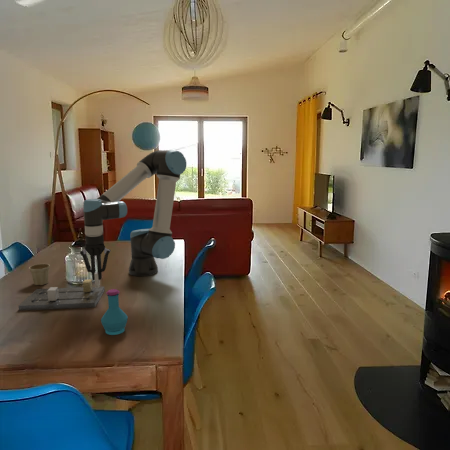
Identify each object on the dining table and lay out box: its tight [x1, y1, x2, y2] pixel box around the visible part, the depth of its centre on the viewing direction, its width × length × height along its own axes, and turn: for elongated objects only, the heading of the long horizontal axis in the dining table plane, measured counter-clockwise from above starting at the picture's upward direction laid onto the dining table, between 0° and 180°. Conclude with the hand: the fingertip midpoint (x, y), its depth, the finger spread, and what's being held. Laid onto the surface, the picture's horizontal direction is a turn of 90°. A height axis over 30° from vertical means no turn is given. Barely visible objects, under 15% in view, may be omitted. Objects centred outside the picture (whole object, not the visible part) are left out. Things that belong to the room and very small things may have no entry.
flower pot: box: [28, 263, 51, 286], centre depth 193 cm, size 9×9×9 cm
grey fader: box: [47, 286, 59, 301], centre depth 166 cm, size 3×4×4 cm
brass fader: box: [82, 278, 93, 292], centre depth 176 cm, size 3×4×4 cm
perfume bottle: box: [100, 288, 129, 336], centre depth 141 cm, size 9×9×15 cm
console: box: [18, 286, 105, 311], centre depth 172 cm, size 30×20×2 cm, turn 96°
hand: (97, 286), depth 177 cm, fingers closed
